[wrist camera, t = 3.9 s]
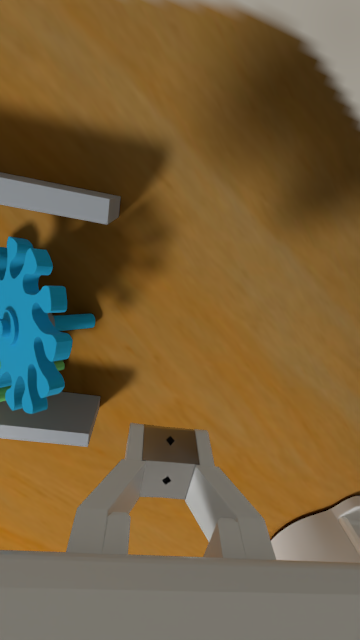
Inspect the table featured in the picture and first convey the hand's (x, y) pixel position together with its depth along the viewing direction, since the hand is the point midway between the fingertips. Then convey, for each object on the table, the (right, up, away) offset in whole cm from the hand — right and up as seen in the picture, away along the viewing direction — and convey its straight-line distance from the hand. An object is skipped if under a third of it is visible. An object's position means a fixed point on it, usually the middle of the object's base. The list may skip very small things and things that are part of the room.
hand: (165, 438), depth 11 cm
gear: (-9, +5, +10) cm, 14 cm away
